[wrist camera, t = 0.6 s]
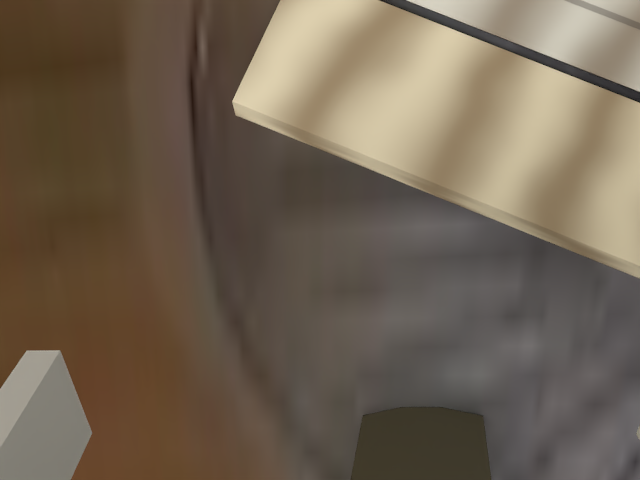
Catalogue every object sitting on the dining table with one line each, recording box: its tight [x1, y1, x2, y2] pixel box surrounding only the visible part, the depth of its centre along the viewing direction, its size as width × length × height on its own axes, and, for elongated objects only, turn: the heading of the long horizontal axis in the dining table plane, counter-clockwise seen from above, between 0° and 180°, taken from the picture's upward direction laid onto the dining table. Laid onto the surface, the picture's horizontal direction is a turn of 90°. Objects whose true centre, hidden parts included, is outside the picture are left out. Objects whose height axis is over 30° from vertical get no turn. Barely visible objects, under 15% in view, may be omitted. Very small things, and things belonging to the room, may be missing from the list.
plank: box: [232, 0, 640, 279], centre depth 32 cm, size 26×9×2 cm
